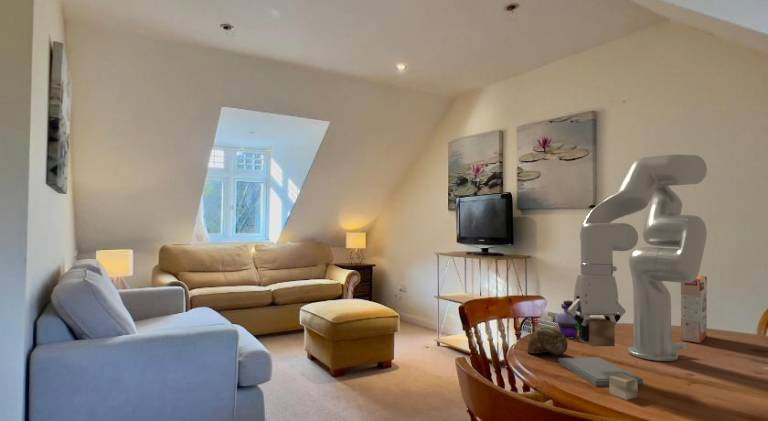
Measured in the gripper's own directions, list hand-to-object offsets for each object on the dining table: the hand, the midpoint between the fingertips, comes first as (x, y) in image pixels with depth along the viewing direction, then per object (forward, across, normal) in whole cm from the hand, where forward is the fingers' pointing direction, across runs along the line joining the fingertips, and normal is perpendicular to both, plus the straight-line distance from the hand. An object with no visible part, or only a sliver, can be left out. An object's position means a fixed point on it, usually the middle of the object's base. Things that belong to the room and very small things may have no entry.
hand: (596, 339), depth 116 cm
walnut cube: (+1, 0, 0) cm, 1 cm away
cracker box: (+8, -53, -30) cm, 62 cm away
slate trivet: (+8, 0, 0) cm, 8 cm away
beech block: (+9, +3, +15) cm, 17 cm away
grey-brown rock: (+9, +5, -17) cm, 20 cm away
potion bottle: (+8, -12, -37) cm, 40 cm away
